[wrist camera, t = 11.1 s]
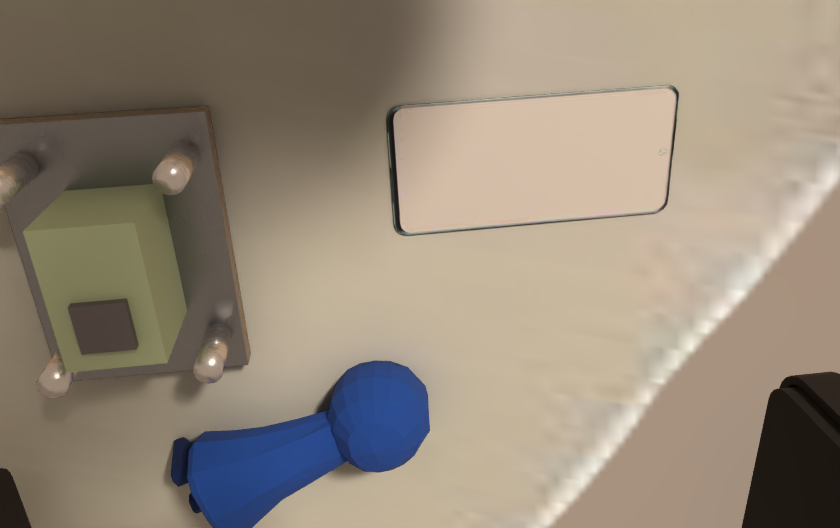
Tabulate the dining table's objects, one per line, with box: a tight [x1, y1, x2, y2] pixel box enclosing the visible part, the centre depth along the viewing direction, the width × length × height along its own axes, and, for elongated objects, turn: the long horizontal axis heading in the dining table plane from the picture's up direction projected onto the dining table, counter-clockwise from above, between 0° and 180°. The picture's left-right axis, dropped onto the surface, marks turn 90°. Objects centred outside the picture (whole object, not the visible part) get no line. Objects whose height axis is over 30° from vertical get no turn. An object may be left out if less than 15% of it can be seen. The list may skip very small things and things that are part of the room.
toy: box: [171, 361, 430, 528], centre depth 41 cm, size 7×6×15 cm
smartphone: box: [387, 85, 679, 235], centre depth 37 cm, size 7×1×15 cm
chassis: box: [0, 106, 250, 398], centre depth 35 cm, size 14×10×5 cm
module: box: [23, 184, 187, 373], centre depth 33 cm, size 7×4×5 cm, turn 3°
